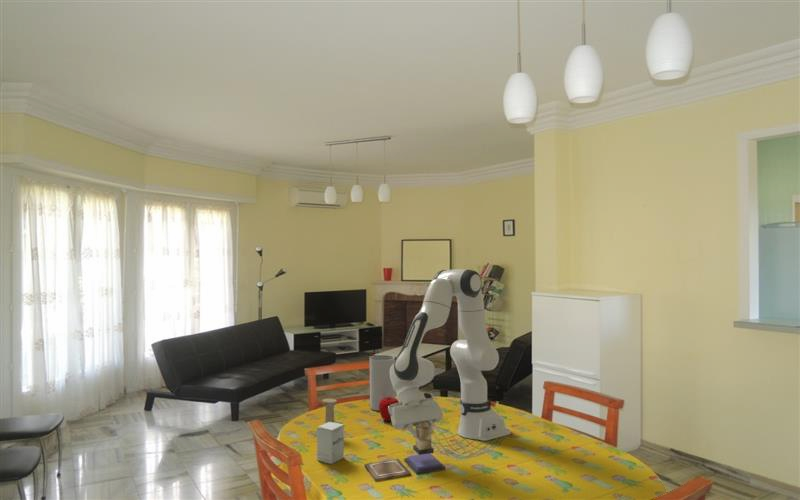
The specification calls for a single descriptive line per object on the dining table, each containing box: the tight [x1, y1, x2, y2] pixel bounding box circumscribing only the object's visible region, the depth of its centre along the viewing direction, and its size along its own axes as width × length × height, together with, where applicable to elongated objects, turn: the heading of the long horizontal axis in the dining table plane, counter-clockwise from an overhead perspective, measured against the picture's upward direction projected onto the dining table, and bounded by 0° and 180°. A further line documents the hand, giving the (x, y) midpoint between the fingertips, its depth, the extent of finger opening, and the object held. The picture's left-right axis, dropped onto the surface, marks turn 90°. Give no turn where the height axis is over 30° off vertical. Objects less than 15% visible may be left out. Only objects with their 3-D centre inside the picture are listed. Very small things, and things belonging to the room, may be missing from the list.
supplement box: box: [316, 422, 345, 465], centre depth 191 cm, size 7×7×13 cm
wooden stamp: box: [412, 422, 434, 455], centre depth 185 cm, size 6×6×10 cm
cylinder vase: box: [369, 354, 396, 412], centre depth 254 cm, size 12×12×25 cm
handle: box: [321, 398, 338, 424], centre depth 216 cm, size 5×6×15 cm
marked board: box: [364, 458, 412, 482], centre depth 181 cm, size 13×13×1 cm
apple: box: [378, 397, 399, 422], centre depth 235 cm, size 10×10×11 cm
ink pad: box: [403, 453, 446, 475], centre depth 185 cm, size 11×12×2 cm
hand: (424, 435), depth 184 cm, fingers closed on wooden stamp, 5 cm apart
